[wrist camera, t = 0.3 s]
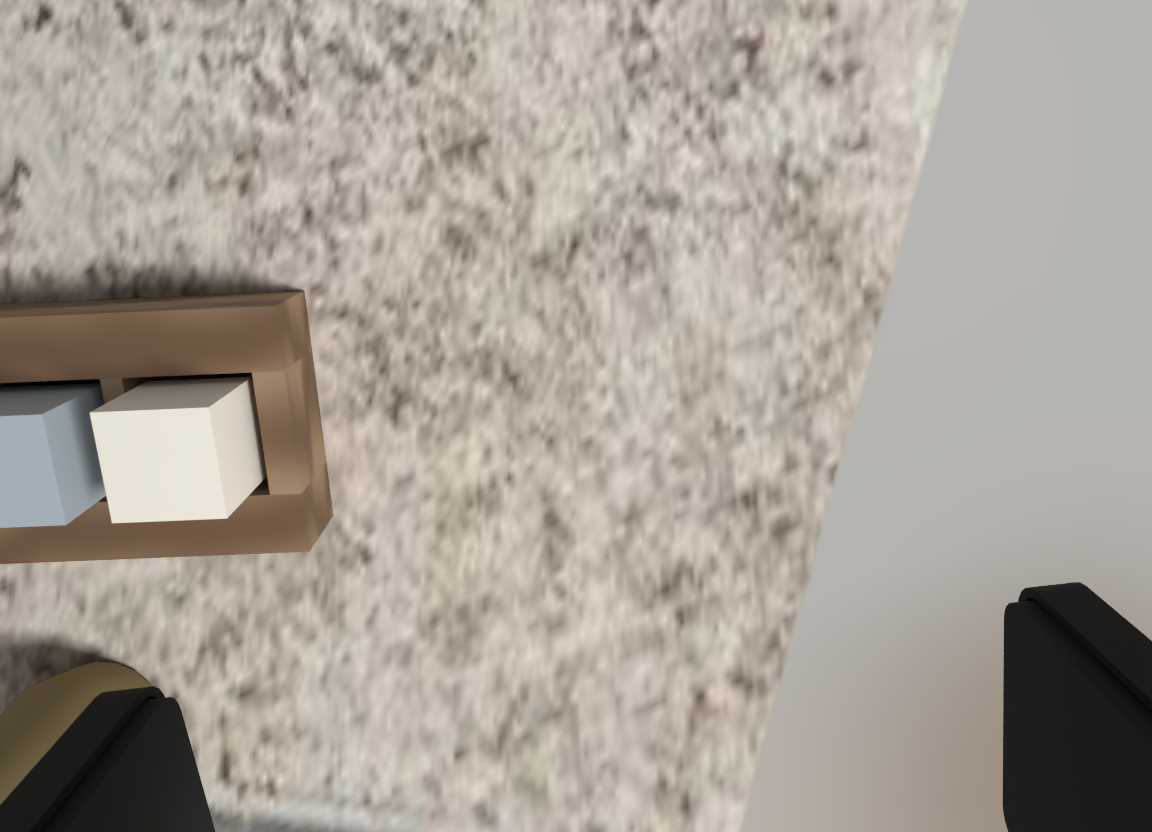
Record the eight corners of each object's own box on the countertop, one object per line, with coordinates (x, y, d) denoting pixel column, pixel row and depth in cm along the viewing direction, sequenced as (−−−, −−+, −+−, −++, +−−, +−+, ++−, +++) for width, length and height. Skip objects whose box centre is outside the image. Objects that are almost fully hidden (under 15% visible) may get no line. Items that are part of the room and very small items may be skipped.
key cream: (146, 381, 43) (89, 412, 38) (252, 376, 43) (208, 407, 38) (165, 480, 44) (112, 523, 39) (266, 476, 44) (227, 518, 39)
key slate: (0, 387, 43) (-78, 419, 38) (104, 383, 43) (41, 414, 38) (22, 486, 44) (-49, 529, 39) (124, 482, 44) (66, 525, 39)
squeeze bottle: (172, 778, 53) (-23, 1082, 36) (32, 747, 52) (-235, 1042, 35) (192, 660, 51) (-6, 924, 33) (46, 626, 50) (-232, 878, 33)
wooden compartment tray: (-156, 310, 45) (-234, 327, 41) (304, 290, 45) (275, 305, 41) (-96, 532, 48) (-161, 570, 44) (333, 515, 48) (309, 551, 44)
